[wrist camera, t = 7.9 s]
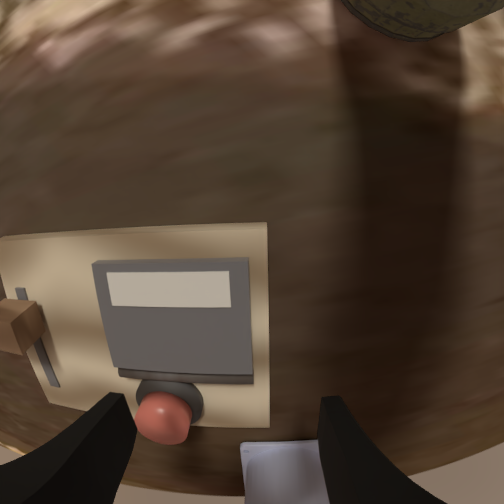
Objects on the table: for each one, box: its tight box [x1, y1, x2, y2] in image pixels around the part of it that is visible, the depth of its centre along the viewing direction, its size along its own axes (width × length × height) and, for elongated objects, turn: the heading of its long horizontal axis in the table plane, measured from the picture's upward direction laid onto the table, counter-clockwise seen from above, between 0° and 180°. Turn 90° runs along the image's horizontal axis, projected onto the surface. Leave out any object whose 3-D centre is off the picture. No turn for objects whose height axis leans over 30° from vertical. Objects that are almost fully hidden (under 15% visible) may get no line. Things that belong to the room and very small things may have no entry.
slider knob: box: [0, 298, 46, 355], centre depth 17 cm, size 2×4×3 cm, turn 92°
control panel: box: [0, 222, 270, 428], centre depth 20 cm, size 15×20×2 cm
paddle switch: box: [91, 257, 253, 374], centre depth 18 cm, size 7×9×1 cm
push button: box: [134, 391, 192, 445], centre depth 19 cm, size 4×4×2 cm
